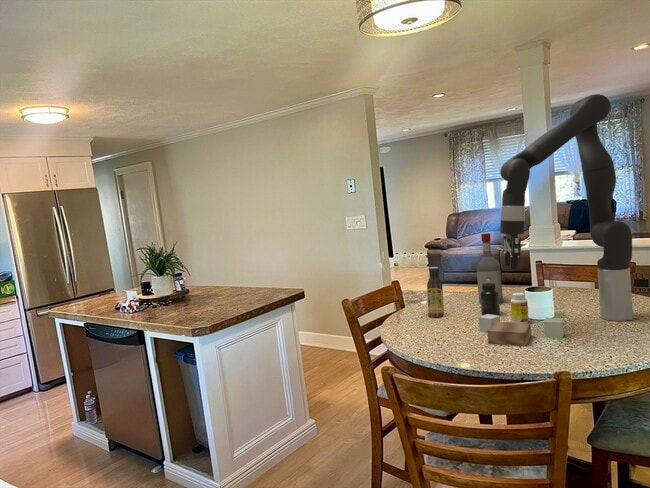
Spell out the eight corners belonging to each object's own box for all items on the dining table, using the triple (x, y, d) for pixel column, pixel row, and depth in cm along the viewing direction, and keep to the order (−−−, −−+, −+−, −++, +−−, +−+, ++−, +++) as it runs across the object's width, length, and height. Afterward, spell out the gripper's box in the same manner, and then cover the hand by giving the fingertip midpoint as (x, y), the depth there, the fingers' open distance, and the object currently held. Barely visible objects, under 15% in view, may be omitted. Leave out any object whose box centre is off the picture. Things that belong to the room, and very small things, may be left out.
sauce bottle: (427, 318, 178) (422, 269, 177) (429, 314, 184) (425, 266, 183) (444, 317, 176) (439, 268, 174) (446, 314, 181) (441, 265, 180)
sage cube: (563, 333, 142) (562, 318, 142) (562, 338, 138) (561, 322, 137) (546, 332, 145) (545, 317, 144) (544, 337, 140) (543, 321, 140)
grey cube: (501, 330, 153) (499, 315, 152) (492, 333, 150) (491, 319, 149) (488, 327, 157) (487, 314, 156) (479, 331, 154) (478, 317, 153)
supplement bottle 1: (492, 311, 178) (489, 281, 177) (504, 314, 171) (501, 284, 170) (477, 314, 176) (475, 284, 175) (489, 317, 169) (486, 286, 168)
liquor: (501, 305, 186) (496, 234, 184) (478, 305, 190) (473, 235, 188) (503, 300, 194) (497, 232, 192) (481, 300, 198) (475, 233, 196)
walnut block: (531, 335, 143) (530, 323, 143) (526, 345, 134) (525, 332, 134) (495, 333, 149) (494, 321, 149) (488, 343, 140) (487, 330, 140)
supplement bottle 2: (523, 324, 155) (520, 296, 155) (508, 322, 160) (506, 294, 159) (532, 321, 159) (530, 293, 158) (518, 319, 163) (515, 291, 162)
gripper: (530, 220, 142) (528, 270, 143) (519, 219, 156) (517, 265, 157) (505, 219, 143) (503, 269, 144) (496, 219, 157) (494, 264, 158)
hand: (510, 267), depth 151 cm, fingers open, 8 cm apart
